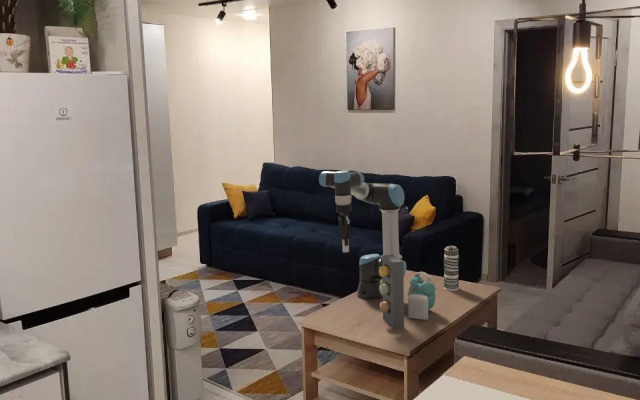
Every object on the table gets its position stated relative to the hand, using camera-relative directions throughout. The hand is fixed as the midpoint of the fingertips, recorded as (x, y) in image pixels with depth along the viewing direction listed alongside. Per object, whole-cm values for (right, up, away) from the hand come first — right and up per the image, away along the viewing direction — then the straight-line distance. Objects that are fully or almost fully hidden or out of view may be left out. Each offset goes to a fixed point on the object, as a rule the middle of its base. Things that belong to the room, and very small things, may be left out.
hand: (345, 251), depth 289 cm
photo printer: (+37, -35, +14) cm, 53 cm away
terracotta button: (+20, -30, +7) cm, 37 cm away
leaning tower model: (+64, -27, +59) cm, 91 cm away
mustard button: (+19, -12, +4) cm, 23 cm away
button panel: (+25, -36, +9) cm, 45 cm away
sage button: (+20, -21, +5) cm, 29 cm away
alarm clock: (+41, -33, +27) cm, 59 cm away
